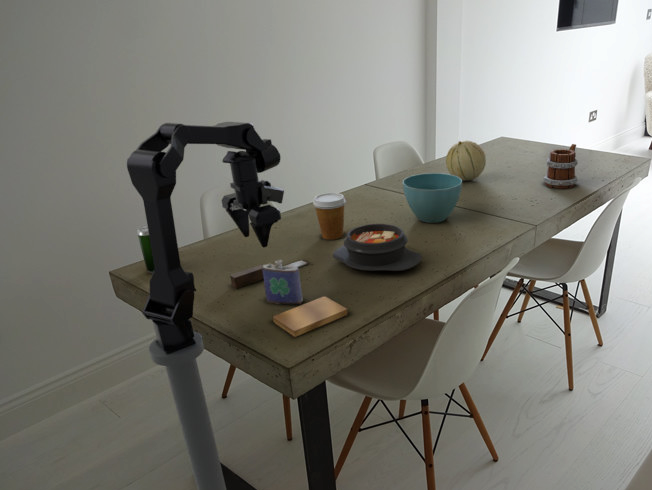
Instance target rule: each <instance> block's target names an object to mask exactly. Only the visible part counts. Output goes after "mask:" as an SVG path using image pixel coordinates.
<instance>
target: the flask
mask: <svg viewBox="0 0 652 490" xmlns="http://www.w3.org/2000/svg"><path fill="white" fill-rule="evenodd" d="M283 262H284V260H282V259H279V260H275V261H274V263H275V264H273V263H271V262H269V263H267V264H262V265H263V267H262V271H263V277H264V279H263V284H264V291H265V297H266V302H267V303H271V304H277V305H288V306H289V305H291V306H296V305H302V303H303V301H304V299H303V292H302V284H301V278H300V277H301V276H300V270H299V267H288V266H286V265H283Z"/></svg>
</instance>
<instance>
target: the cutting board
mask: <svg viewBox="0 0 652 490" xmlns="http://www.w3.org/2000/svg"><path fill="white" fill-rule="evenodd" d="M348 312H349V311H348V308H347V307H344V306H343V305H341V304H339V303H338V302H336V301H334V300H332V299H331V298H329V297H327V296H326V295H324V296H321V297H319V298H316V299H313V300H311V301H309V302H306V303H303V304H300V305H299V306H296V307H293V308H290V309H288V310H286V311H282V312H281V313H278V314H276V315H275V314H274V315H273V316H272V320H273V324H275V325H277V326H278V327H280V328H281V329H282V330H284V331H286V332H287V333H289V334H290V335H291V336H293V337H295V338H297V337H298V336H301V335H303V334H306V333H308V332H310V331H312V330H315V329H317V328H320V327H322V326H324V325H326V324H329V323H332V322H334V321H337V320H339V319H341V318H343V317H345V316H348V315H349V313H348Z"/></svg>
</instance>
